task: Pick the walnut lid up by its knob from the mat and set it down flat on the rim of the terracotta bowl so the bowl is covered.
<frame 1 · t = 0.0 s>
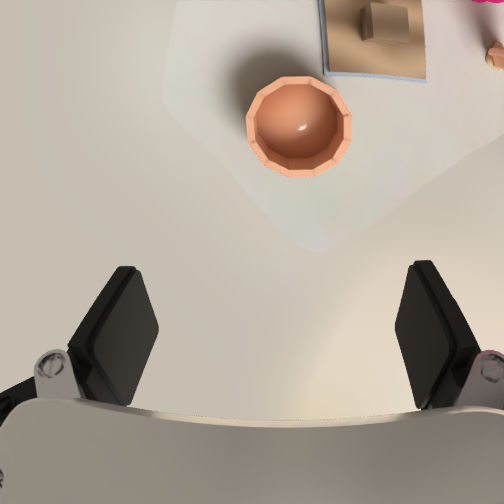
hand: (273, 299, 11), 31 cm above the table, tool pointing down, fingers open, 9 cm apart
mat: (374, 28, 29), on the table
bowl: (297, 119, 36), on the table
grandmother figurine: (493, 58, 28), on the table
lid: (375, 27, 29), resting on mat
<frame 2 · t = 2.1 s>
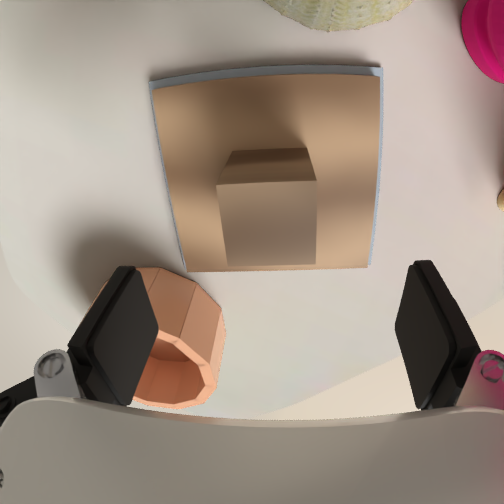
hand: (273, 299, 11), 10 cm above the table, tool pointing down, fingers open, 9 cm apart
mat: (272, 175, 19), on the table
pepper mill: (496, 37, 12), on the table
bowl: (160, 319, 27), on the table
lid: (272, 177, 19), resting on mat
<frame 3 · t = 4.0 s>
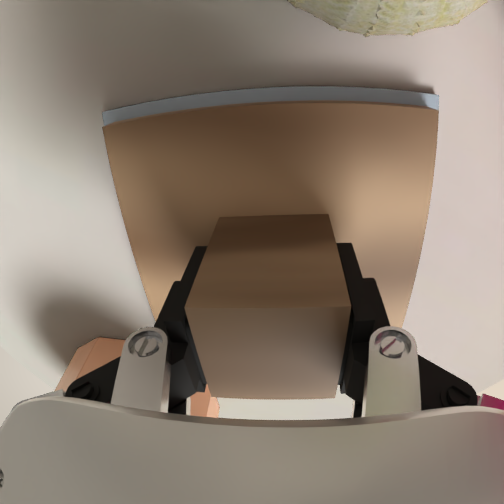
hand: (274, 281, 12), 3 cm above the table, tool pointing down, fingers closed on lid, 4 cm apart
mat: (276, 244, 14), on the table
bowl: (143, 389, 21), on the table
lid: (276, 248, 14), resting on mat, touching gripper
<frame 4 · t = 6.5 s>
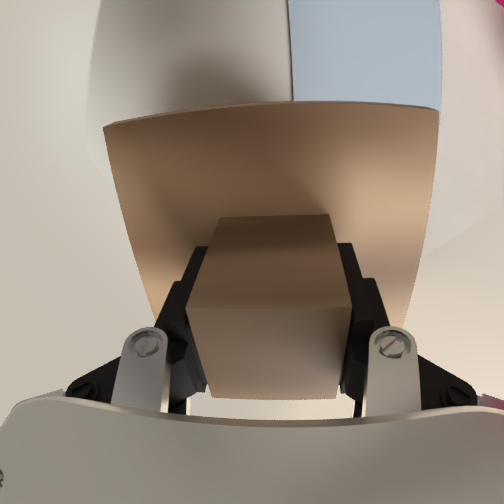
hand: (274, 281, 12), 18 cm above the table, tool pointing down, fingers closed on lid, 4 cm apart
mat: (370, 43, 21), on the table
lid: (277, 248, 14), point 15 cm above the table, touching gripper
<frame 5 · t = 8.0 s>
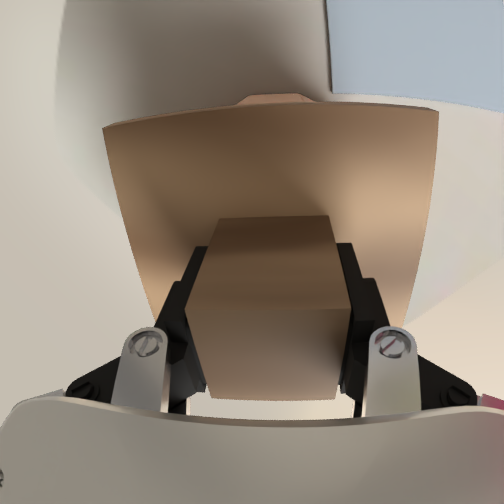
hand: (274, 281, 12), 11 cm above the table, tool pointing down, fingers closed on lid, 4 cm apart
mat: (426, 5, 13), on the table
bowl: (279, 178, 21), on the table
lid: (276, 249, 14), point 8 cm above the table, touching gripper
when the fingers open (9 cm above the table, at t = 9.3 s): lid drops 1 cm, resting on bowl.
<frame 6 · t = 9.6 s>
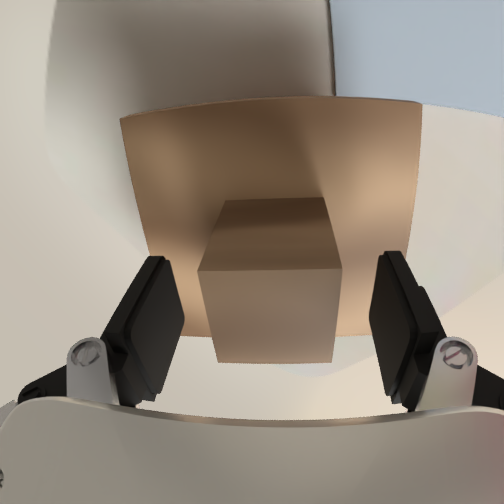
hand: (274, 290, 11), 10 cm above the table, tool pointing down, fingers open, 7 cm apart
mat: (434, 6, 12), on the table
lid: (277, 230, 15), point 5 cm above the table, touching bowl
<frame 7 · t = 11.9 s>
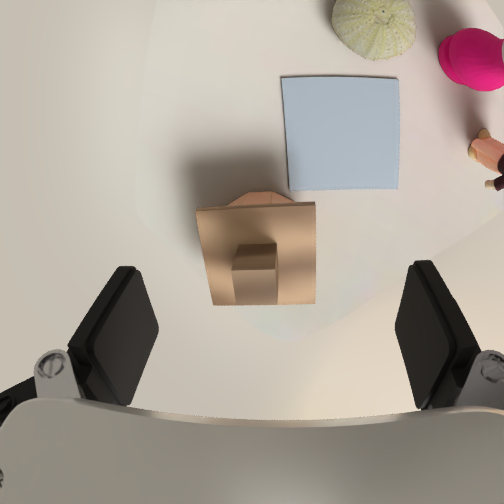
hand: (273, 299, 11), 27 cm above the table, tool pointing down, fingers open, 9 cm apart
mat: (344, 133, 33), on the table
pepper mill: (459, 59, 27), on the table
bowl: (263, 233, 40), on the table
grandmother figurine: (477, 148, 32), on the table
sea urchin shell: (370, 23, 27), on the table
lid: (259, 255, 36), point 5 cm above the table, touching bowl
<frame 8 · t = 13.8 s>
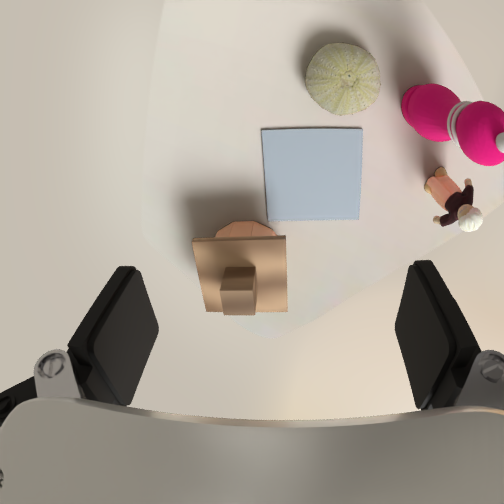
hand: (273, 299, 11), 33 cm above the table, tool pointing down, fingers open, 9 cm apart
mat: (313, 175, 42), on the table
pepper mill: (421, 107, 35), on the table
bowl: (247, 253, 50), on the table
grandmother figurine: (433, 183, 41), on the table
sea urchin shell: (341, 78, 35), on the table
lid: (242, 274, 45), point 5 cm above the table, touching bowl
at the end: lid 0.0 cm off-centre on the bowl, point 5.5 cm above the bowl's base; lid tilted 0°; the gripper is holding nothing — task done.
